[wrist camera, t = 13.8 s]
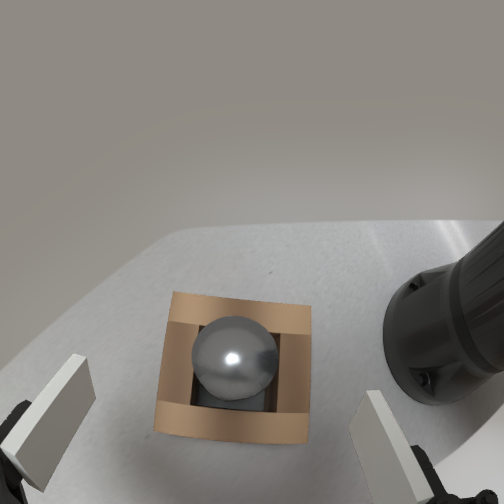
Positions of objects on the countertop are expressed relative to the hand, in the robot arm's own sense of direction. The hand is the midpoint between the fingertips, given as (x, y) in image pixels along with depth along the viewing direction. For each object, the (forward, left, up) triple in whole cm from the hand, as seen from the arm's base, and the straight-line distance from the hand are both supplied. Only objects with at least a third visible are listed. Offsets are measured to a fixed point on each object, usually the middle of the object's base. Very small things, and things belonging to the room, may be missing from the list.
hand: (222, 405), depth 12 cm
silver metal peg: (0, -2, -12) cm, 12 cm away
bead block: (-1, -2, -12) cm, 12 cm away
